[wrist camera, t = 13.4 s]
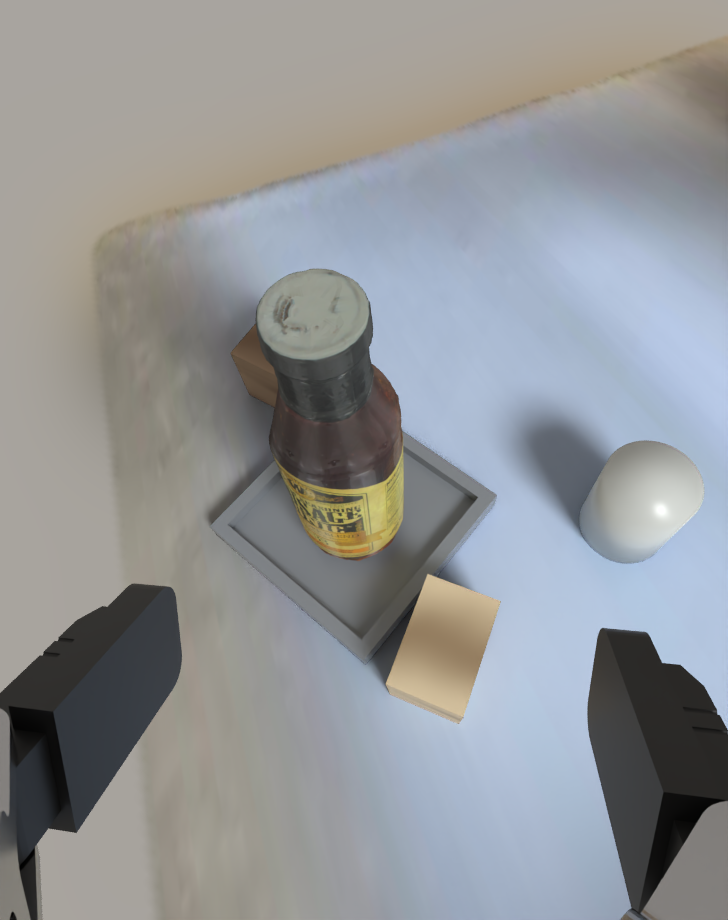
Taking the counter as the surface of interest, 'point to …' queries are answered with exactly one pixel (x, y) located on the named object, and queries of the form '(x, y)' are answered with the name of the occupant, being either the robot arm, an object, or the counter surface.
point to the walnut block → (255, 368)
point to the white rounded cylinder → (640, 501)
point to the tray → (371, 579)
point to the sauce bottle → (333, 413)
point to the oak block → (443, 648)
